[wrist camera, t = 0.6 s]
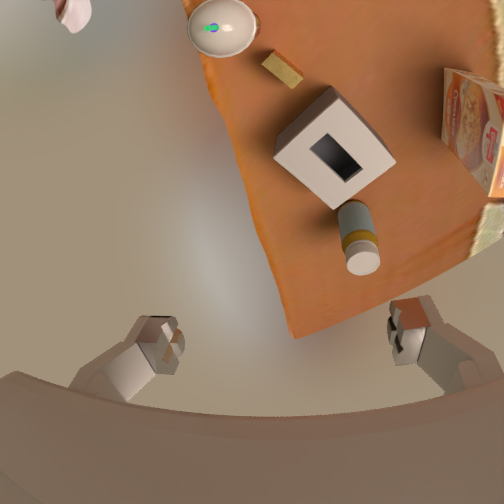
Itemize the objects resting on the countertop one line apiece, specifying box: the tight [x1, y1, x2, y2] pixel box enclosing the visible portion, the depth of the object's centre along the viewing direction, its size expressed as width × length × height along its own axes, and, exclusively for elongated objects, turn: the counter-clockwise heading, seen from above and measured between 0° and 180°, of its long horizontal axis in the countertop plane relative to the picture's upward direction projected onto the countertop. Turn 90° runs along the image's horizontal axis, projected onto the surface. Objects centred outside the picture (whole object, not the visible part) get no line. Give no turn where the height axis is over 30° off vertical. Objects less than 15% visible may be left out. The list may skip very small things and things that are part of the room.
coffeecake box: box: [441, 68, 504, 197], centre depth 31 cm, size 15×7×20 cm, turn 11°
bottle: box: [338, 201, 380, 275], centre depth 54 cm, size 7×7×15 cm
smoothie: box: [187, 0, 261, 58], centre depth 29 cm, size 8×8×20 cm
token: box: [261, 50, 304, 89], centre depth 38 cm, size 2×6×6 cm, turn 50°
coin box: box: [273, 86, 397, 210], centre depth 45 cm, size 14×14×9 cm
